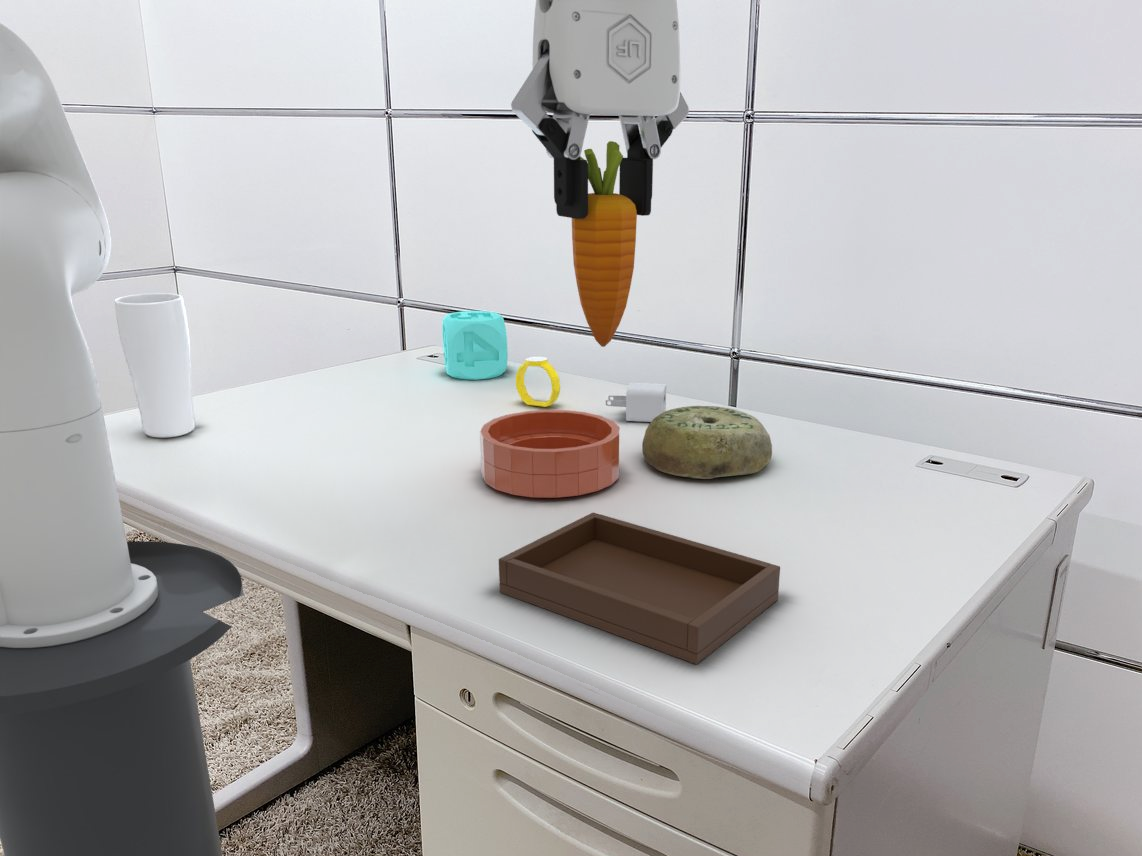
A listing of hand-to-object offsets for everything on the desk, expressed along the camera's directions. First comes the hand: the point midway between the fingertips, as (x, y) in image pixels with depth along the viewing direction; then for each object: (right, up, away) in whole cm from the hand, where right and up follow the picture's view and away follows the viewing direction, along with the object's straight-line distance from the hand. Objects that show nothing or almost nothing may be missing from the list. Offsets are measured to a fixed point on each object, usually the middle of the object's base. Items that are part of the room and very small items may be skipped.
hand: (604, 212), depth 72 cm
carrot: (0, -10, +4) cm, 10 cm away
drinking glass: (-50, -15, +37) cm, 64 cm away
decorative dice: (-20, -5, +65) cm, 68 cm away
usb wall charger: (+2, -12, +45) cm, 47 cm away
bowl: (-6, -19, +26) cm, 33 cm away
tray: (+3, -28, +2) cm, 29 cm away
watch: (-10, -11, +50) cm, 52 cm away
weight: (+10, -18, +31) cm, 37 cm away
